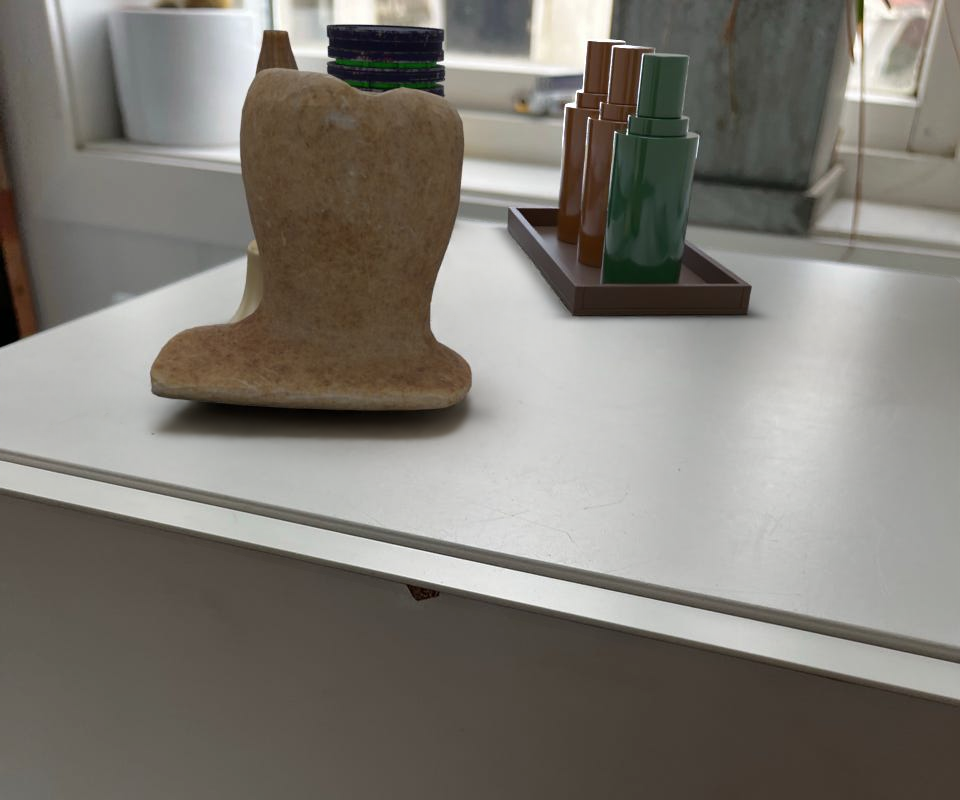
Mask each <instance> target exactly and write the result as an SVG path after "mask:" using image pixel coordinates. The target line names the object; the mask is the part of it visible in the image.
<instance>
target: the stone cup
mask: <svg viewBox="0 0 960 800" xmlns="http://www.w3.org/2000/svg"><path fill="white" fill-rule="evenodd" d="M464 155H465V132H464V123H463V120H462V117H461V115H460V113H459V111H458V109H457V107H456V105H455V104H454V103H452V102H451V101H449V100H448V99H446V98H445V97H444V98H443V97H441V96H439V95H435V94H432V93H429V92H425V91H421V90H417V89H410V88H404V87H401V88H397V89H393V90H390V91H386V92H383V93H376V92H366V91H361V90H359V89H357V88H355V87H351V86H350V85H349V84H348V83H346V82H344V81H342V80H340V79H338V78H336V77H334V76H332V75H330V74H328V73H326V72H325V73H324V72H316V71H309V70H299V69H298V70H295V69H285V68H270V69H265V70H262V71H260V72H259V73H258V74H257V75H256V76H255V75H254V77H253V79H252V81H251V83H250V85H249V87H248V89H247V92H246V95H245V98H244V102H243V105H242V109H241V117H240V128H239V158H240V159H239V161H240V171H241V179H242V182H243V187H244V193H245V198H246V205H247V209H248V214H249V218H250V225H251V227H252V231H253V235H254V238H255V239H256V243H257V247H258V251H259V256H260V261H261V265H262V274H263V295H262V299H261V301H260V304H259V306H258V307H257V309H256V310H255V311H254V312H253V313H252V314H251V315H249V316H247V317H246V318H244V319H243V320H241V321H239V322H235V323H228V322H227V323H215V324H209V325H207V324H206V325H199V326H193V327H191V328H185V329H184V330H182V331H180V332H178V333H176V334H174V336H172V337H171V338H170V339H168V341H167V342H166V343H165V344H164V345H163V347H161V349H160V351H159V352H158V354H157V356H156V357H155V359H154V360H153V363H152V365H151V367H150V371H149V376H150V386H151V388H150V389H151V390H150V391H151V394H152V395H154V396H156V397H158V398H163V399H169V400H179V401H190V402H198V403H199V402H200V403H212V404H214V403H215V404H226V405H237V406H250V407H252V406H253V407H266V408H280V409H300V410H302V409H311V410H331V411H333V410H334V411H370V412H371V411H372V412H373V411H375V412H376V411H419V410H420V411H421V410H439V409H445V408H448V407H451V406H454V405H456V404H458V403H460V402H461V401H462V400H463V399H464V398H465V397H466V395H468V393H469V392H470V390H471V389H472V385H473V372H472V369H471V366H470V364H469V363H468V362H467V360H466V359H465V358H464V357H463V356H462V355H461V354H460V353H458V352H457V351H455V350H454V349H452V348H450V347H449V346H448V345H446V344H444V343H442V342H440V341H438V340H437V338H436V336H435V334H434V333H433V331H432V327H431V326H432V325H431V312H432V311H431V309H432V308H431V306H432V301H433V300H432V299H433V296H434V295H433V294H434V288H435V285H436V282H437V279H438V275H439V272H440V269H441V267H442V264H443V262H444V259H445V256H446V253H447V250H448V247H449V244H450V241H451V238H452V236H453V232H454V228H455V224H456V221H457V216H458V213H459V212H458V211H459V207H460V202H461V188H462V179H463V178H462V177H463V166H464ZM255 239H254V240H255Z"/></svg>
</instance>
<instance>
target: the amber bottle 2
mask: <svg viewBox="0 0 960 800" xmlns="http://www.w3.org/2000/svg"><path fill="white" fill-rule="evenodd" d="M644 53H656V48H655V47H651V46H643V45H642V46H641V45H625V46H613V47H612V55H611V66H610V77H609V88H608V99H607V100H605V101H601V102H600V111H599V114H597V115H591V116H589V117H588V123H587V136H586V148H585V160H584V172H583V184H582V196H581V208H580V221H579V233H578V245H577V257H576V258H577V261H578V262H580V263H582V264H585V265H588V266H592V267H597V268H601V267H602V257H603V246H604V236H605V225H606V215H607V204H608V194H609V184H610V173H611V163H612V152H613V142H614V132H615V130H617V129H621V128H627V123H628V115H629V114H631V113H636V109H637V100H638V90H639V81H640V72H641V62H642V55H643V54H644Z"/></svg>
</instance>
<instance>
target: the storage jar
mask: <svg viewBox="0 0 960 800" xmlns="http://www.w3.org/2000/svg"><path fill="white" fill-rule="evenodd" d="M326 37H327V38H328V46H326V47H327V48H326V49H327V57H328V58H330V59H334V60H330V61H326V66H327V67H326V74H330V75H332V76H334V77H336V78H338V79H340V80H342V81H344V82H346V83H348V84H349V85H350V86H351V87H355V88H357V89H359V90H361V91H366V92H376V93H383V92H386V91H390V90H393V89H397V88H401V87H404V88H410V89H417V90H421V91H425V92H429V93H432V94H435V95H439V96H441V97H443V98H445V97H446V94H445V85H444V84H441V83H443V82H445V81H446V66H445V65H443V64H440V62H444V61H445V50H444V49H443V43H444V41H445V29H443V28H437V27H429V26H427V27H426V26H412V25H395V24H393V25H392V24H359V23H358V24H357V23H356V24H355V23H354V24H352V23H348V24H347V23H342V24H341V23H340V24H338V23H337V24H327V25H326ZM438 63H439V64H438Z"/></svg>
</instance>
